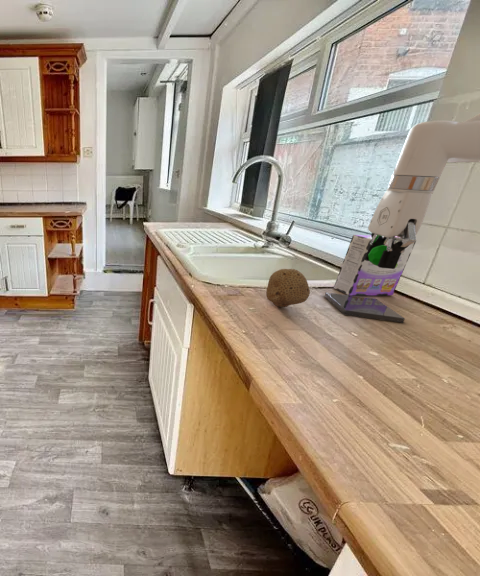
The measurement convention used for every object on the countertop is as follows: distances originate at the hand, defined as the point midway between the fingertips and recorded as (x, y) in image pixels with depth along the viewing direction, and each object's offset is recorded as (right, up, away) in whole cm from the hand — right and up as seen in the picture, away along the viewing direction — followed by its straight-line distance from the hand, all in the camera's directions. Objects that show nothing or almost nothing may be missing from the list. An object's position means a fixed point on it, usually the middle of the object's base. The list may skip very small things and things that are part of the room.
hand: (378, 263), depth 74 cm
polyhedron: (0, -1, 0) cm, 1 cm away
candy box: (+10, -7, +16) cm, 20 cm away
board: (-1, -11, +5) cm, 12 cm away
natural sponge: (-22, -11, +3) cm, 24 cm away
